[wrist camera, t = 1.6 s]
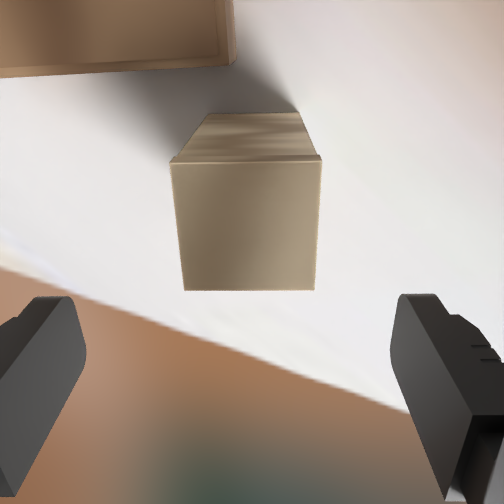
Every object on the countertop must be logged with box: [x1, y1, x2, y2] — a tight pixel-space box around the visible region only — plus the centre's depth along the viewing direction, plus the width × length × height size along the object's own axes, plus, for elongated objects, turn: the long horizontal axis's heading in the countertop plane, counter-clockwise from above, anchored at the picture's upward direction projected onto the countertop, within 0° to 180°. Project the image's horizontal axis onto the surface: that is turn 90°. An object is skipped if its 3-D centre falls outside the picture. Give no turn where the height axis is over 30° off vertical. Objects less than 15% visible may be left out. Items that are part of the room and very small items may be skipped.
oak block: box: [169, 112, 322, 291], centre depth 19 cm, size 5×5×10 cm
